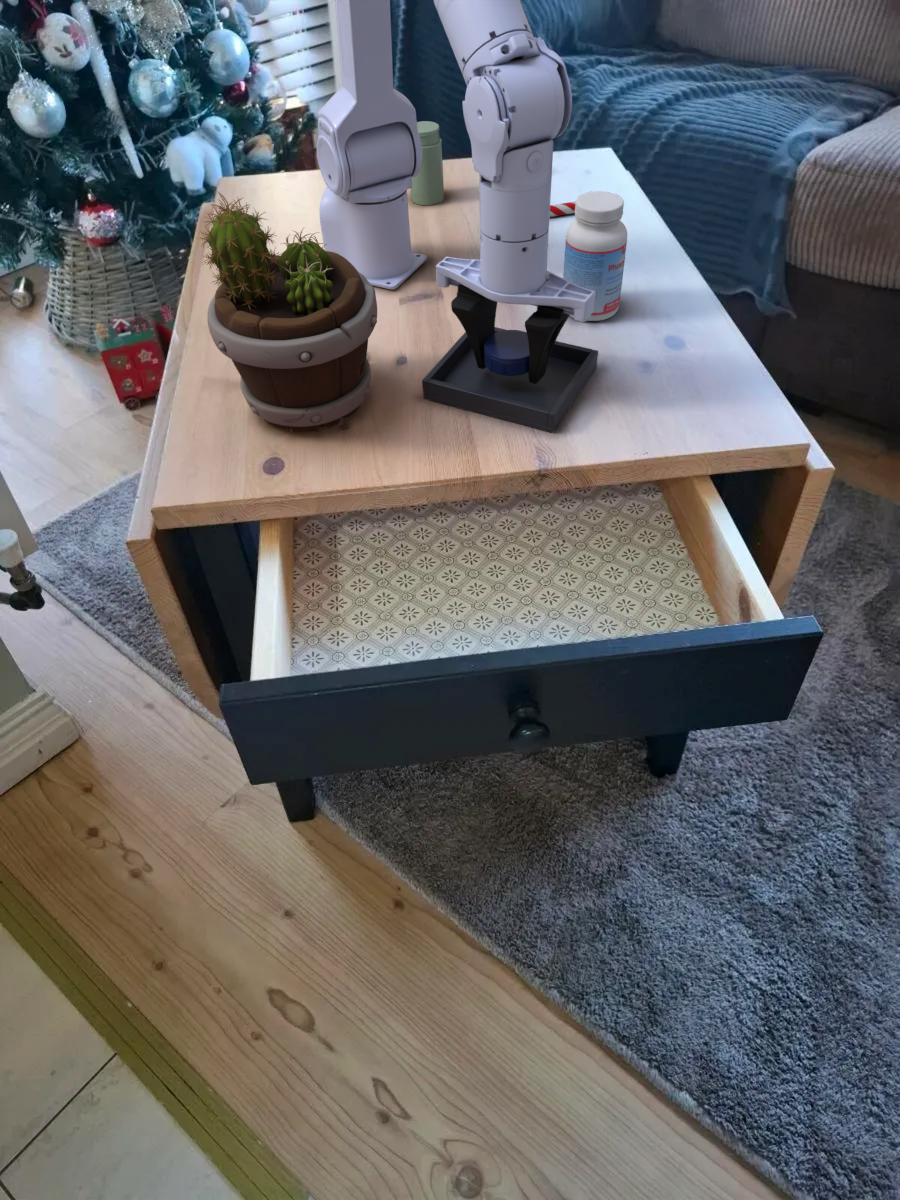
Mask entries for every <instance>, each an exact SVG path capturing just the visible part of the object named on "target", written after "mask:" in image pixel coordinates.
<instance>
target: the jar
mask: <svg viewBox="0 0 900 1200" xmlns="http://www.w3.org/2000/svg"><path fill="white" fill-rule="evenodd" d="M417 128H418V133H419V136H420V140H421V145H422V162H421V166H420V169H419V172H418V174H417V175H416V176H415V177H413V178H412V185H413V187H412V188H409V191H410V200H411V202H412V203H414V204H415V205H419V206H433V205H437V204H440V203H441V202H443V201H444V199H445V192H444V191H445V187H444V184H445V183H444V163H443V161H444V160H443V140H442V137H440V125H439V124H438V123H437V122H434V121H429V120H422V121H417Z"/></svg>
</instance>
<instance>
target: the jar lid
mask: <svg viewBox="0 0 900 1200" xmlns="http://www.w3.org/2000/svg"><path fill="white" fill-rule="evenodd" d="M484 364H485V366H486V367H487V368H488V369H489V370H490V371H492V372H494V373H496V374H499V375H504V376H518V375H522V374H526V373H528V372H529V343H528V337H527V332H526V331H525V330H519V329H506V330H503V331H499V332H496V333H493V334H491V335H490V336H489V337H487V338H486V340H485V342H484Z"/></svg>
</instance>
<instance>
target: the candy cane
mask: <svg viewBox="0 0 900 1200" xmlns="http://www.w3.org/2000/svg"><path fill="white" fill-rule="evenodd" d="M575 205H576V200H575V201H569V202H563V203H555V204H550V218H551V217H552V218H553V217H557V216H558V217H559V216H566V215H570V214H575Z"/></svg>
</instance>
